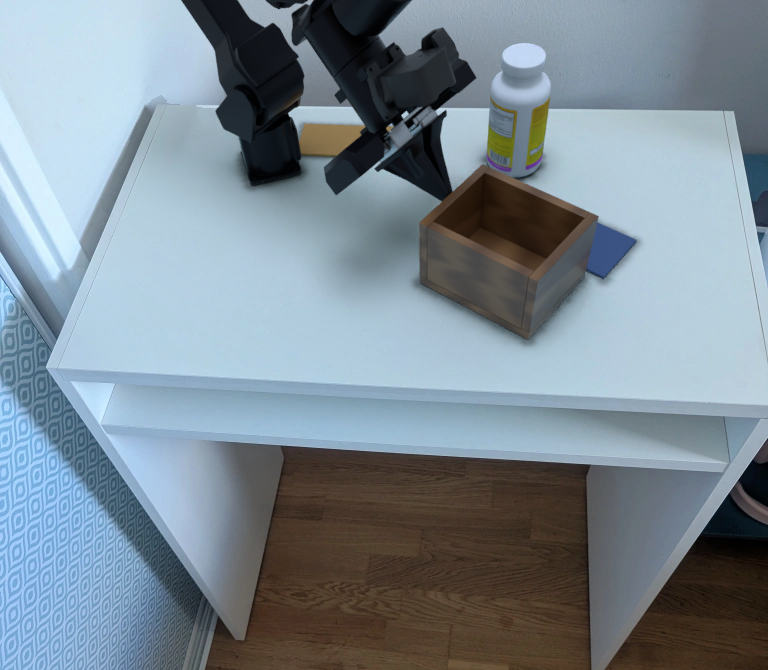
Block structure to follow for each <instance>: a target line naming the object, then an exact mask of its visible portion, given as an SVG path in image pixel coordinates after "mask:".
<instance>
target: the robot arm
mask: <svg viewBox="0 0 768 670" xmlns="http://www.w3.org/2000/svg"><path fill="white" fill-rule="evenodd" d="M180 1H181V3H182V4H183V6H184V7H185V8H186V10H187V11H188V13H189V14H190V16H191V18H193V20H194V22H195V23H196V25H197V26H198V28H199V29H200V30H201V32H202V34H203V35H204V36H205V38H206V40H207V41H208V42H209V44H210V45H211V47H212V48H213V49H212V50H213V51H214V55H215V62H216V70H217V76H218V82H219V84H220V86H221V87H222V88H221V89H223V91H224V93H225V95H226V96H225V98H224V99H223V101H222V102H221V103H220V104H219V106H218V107H217V108H216V109H215V114H216V117H217V119H218V121H219V124H220V126H221V128H222V129H223V130H224V131H226V132H228V133H230V134H232V135H234V136H236V137H238V142H239V146H240V149H241V151H240V156H241V160H242V163H243V166H244V169H245V172H246V175H247V178H248V183H249V184H250V186H255V185H260V184H263V183H268V182H272V181H277V180H281V179H286V178H289V177H294V176H298V175H301V174H302V171H303V170H302V166H301V164H300V162H299V161H301V160H302V157H303V156H301V151H300V145H299V140H300V138H299V133H298V128H297V126H296V124H295V121H294V118H293V117H292V116H290V114H289V113H290V112H292V111H293V110H294V109H297V108H298V107H300V105H301V99H302V97H303V95H304V91H305V83H304V80H305V73H304V69H303V67H302V65H301V62H299V60H298V59H299V54H298V53H297V52H296V51H295V50H294V49H293V47H291V45H290V44H289V42H288V40H287V39H286V37H285V35H284V33H283V31H282V29H281V28H280V27H279V26H278V25H277V24H276V23H275V22H271V23H270V24H268V25H267V26H264V25H262V24H260V23H259V22H256V21H255V20H253V19H252V18H251V17H250V16H249V15H248V13H247V12H246V10H245V9H244V7H243V6H242V4H241V3H240V1H239V0H180ZM308 1H309V0H265V2H266V3H268V4H269V5H270V6H271V7H273V8H275V9H277V10H281V9H290V8H291V7H292V6H294V5H296V4H297V5H302V6H300V7H298V8H297V9H296V10H294V11H293V12H291V14H290V15H291V16H290V17H291V20H292V21H291V22H292V26H291V27H292V28H291V33H290V36H291V43H292V45H293V46H294V47H299V45H301V44H302V43H304V41H307V42H308V44H309V45H310V47H311V48H312V50H313V51H314V52H315V54H316V55H317V57H318V58H319V60H320V61H321V63H322V65H323V66H324V67H325V69H326V70H327V72H328V73H329V75H330V76H331V78H332V79H333V81H334V82H335V84H336V85H337V87H338V88H339V90H337V91H336V92H335V94H334V98H335V99H336V100H337V102H338V104H339V105H342V104H343V103H344V102H345V101H348V103H349V105H350V106H351V108H352V109H353V110H354V112H355V114H356V115H357V116H358V118H359V119H360V121H361V122H362V123H363V126H365V128H364V129H362V130H361V131H360V134H361V136H360V137H359V138H357V139H356V140H355V141H354V142H352V143H351V144H350V145H349V146H348V147H346V148H345V149H344V150H343V151H342V152H341V153H339V154H338V155H337V156H336V157H333V158H332V159H330V160H329V162H328V163H327V164H326V165H324V166H323V173H324V179H325V183H326V185H327V186H328V187H329V189H330V190H331V191H332V192H333V194H334V195H335V196H338V195H339V194H340V193H342V192H343V191H344V190H345V189H347V188H348V187H349V186H351V185H352V184H353V183H355V182H356V181H357V180H359V179H360V178H361V177H362V176H363V175H365V174H366V173H367V172H368V171H370V170H371V169H372V168H373V167H374V166H375V165H376V164H377V166H375V167H374V170H375V172H376V173H379V172H380V171H382V170H383V171H386V172H388V173H390V174H392V175H394V176H396V177H398V178H400V179H402V180H404V181H406V182H408V183H410V184H411V185H414V186H415V187H417V188H419V189H420V190H422V191H423V192H425V193H427V194H428V195H430V196H432V197H433V198H435V199H436V200H438V201H440V202H442V201H443V200H444V199H445V198H446V197H447V196H448V195H450V194H451V193H452V192H453V191H454V190H453V187H452V183H451V179H450V176H449V172H448V168H447V164H446V160H445V156H444V152H443V146H442V139H441V135H442V129H443V122H444V119H445V118H446V117H448V112H447V109H445V110H444V111H442V112H441V113H440V114H438V113H437V110H439V109H440V108H441V107H442V106H444V105H445V104H446V103H447V102H449V101H450V100H451V99H452V98H454V97H455V96H456V95H458V94H460V93H461V92H462V91H464V90H465V89H466V88H467V87H468V86H469V85H470V84H472V83H473V82H474V81H476V80H477V76H476V75H475V73H474V70H473V69H472V68H471V66H470V64H469V62H468V61H467V60H465V59H462V58H460V53H459V51H458V50H457V49H458V48H457V46H456V43H455V41H454V40H453V39H452V37H451V36H450V34H449V33H448V32H447V30H446V29H445V27H439V28H435V29H432V30H431V31H429V32H428V33H427V34H426V35H424V36H423V37H422V38H421V40H420V47H421V48H418V49H417V50H416V51H414V52H413V53H411V54H407V55H406V53H404V51H403V50H402V48H401V46H399V45H398V44H397V43H395V41H393V42H392V43H390V44H388V46H386V44H385V43H384V41H383V40H382V38H381V37H380V34H382V33H383V32H384V31H385V30H386V29H387V28H388V27H389V26H390V25H391V24H392V23H393V22H394V21H395V19H396V18H398V16H399V15H400V14H401V13H402V12H403V11H404V10H405V9H406V8H407V7H408V6H409V5H410V4H411V2H413V0H312V1H311V3H310V4H308V3H307V2H308ZM406 112H407V114H408V115H406V116H404V117H403V114H405V113H406ZM390 125H392V127H393V128H392V129H391V130H390V131H388V130H387V129H386V128H387V127H388V126H390ZM378 163H379V164H378Z"/></svg>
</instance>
